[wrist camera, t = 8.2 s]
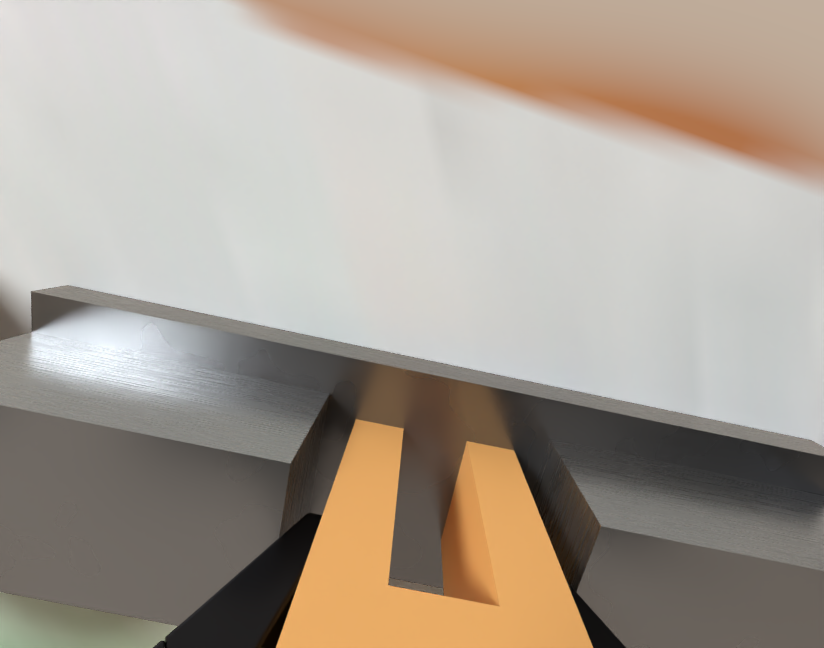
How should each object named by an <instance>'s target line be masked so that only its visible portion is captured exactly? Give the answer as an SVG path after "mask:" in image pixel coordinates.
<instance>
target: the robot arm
mask: <svg viewBox="0 0 824 648" xmlns="http://www.w3.org/2000/svg"><path fill="white" fill-rule="evenodd" d="M321 517H322V515H320V514H315V513H307V514H306V515H305V516H303V517H302V518H301V519H300V520H299V521H298V522H297V523H295V524H294V525H293V526H292V527H291V528H290V529H289V530H287V531H286V532H285V533H284V534H283V535H282V536H281V537H279V538H278V539H277V540H276V541H275V542H274V543H273V544H271V545H270V546H269V547H268V548H267V549H266V550H265V551H263V552H262V553H261V554H260V555H259V556H258V557H257V558H255V559H254V560H253V561H252V562H251V563H250V564H249V565H247V566H246V567H245V568H244V569H243V570H242V571H241V572H239V573H238V574H237V575H236V576H235V577H234V578H233V579H231V580H230V581H229V582H228V583H227V584H226V585H225V586H223V587H222V588H221V589H220V590H219V591H218V592H217V593H215V594H214V595H213V596H212V597H211V598H210V599H209V600H207V601H206V602H205V603H204V604H203V605H202V606H201V607H199V608H198V609H197V610H196V611H195V612H194V613H193V614H191V615H190V616H189V617H188V618H187V619H186V620H185V621H183V622H182V623H181V624H180V625H179V626H178V627H177V628H175V629H174V630H173V631H172V632H171V633H170V634H169V635H167V636H166V638H165V642H164V641H160V642H159V643H158V644H157V645H156V646H155V647H153V648H276V646H277V643H278V640H279V638H280V635H281V632H282V629H283V626H284V623H285V620H286V618H287V615H288V612H289V609H290V606H291V603H292V600H293V598H294V595H295V592H296V589H297V586H298V583H299V580H300V577H301V575H302V572H303V569H304V566H305V563H306V560H307V557H308V555H309V552H310V549H311V546H312V543H313V540H314V537H315V535H316V532H317V529H318V526H319V523H320V520H321ZM567 584H568V586H569V589H570V591H571V594H572V596H573V599H574V601H575V604H576V606H577V609H578V611H579V614H580V616H581V619H582V621H583V623H584V626H585V628H586V631H587V633H588V636H589V638H590V641H591V643H592V646H593V648H626V647H625V646H624V645H623V643H622V642H621V641H620V640H619V639H618V638H617V637H616V636H615V635H614V633H613V632H612V631H611V630H610V629H609V628H608V627H607V626H606V625H605V623H604V622H603V621H602V620H601V619H600V618H599V617H598V616H597V615H596V613H595V612H594V611H593V610H592V609H591V608H590V607H589V606H588V605H587V603H586V602H585V601H584V600H583V599H582V598H581V597H580V596H579V595H578V593H577V592H576V591H575V590H574V589H573V588H572V587H571V586H570V585H569V583H568V582H567Z"/></svg>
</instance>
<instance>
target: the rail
mask: <svg viewBox="0 0 824 648" xmlns="http://www.w3.org/2000/svg"><path fill="white" fill-rule="evenodd" d="M31 311H32V332H30V333H26V334H22V335H19V336H15V337H11V338H8V339H4V340H0V592H4V593H9V594H15V595H20V596H25V597H30V598H35V599H41V600H46V601H51V602H56V603H62V604H67V605H72V606H77V607H82V608H88V609H93V610H98V611H103V612H109V613H114V614H119V615H124V616H129V617H135V618H140V619H145V620H150V621H156V622H161V623H166V624H171V625H176V626H179V625H180V624H181V623H182V622H183V621H185V620H186V619H187V618H188V617H189V616H190V615H191V614H193V613H194V612H195V611H196V610H197V609H198V608H199V607H201V606H202V605H203V604H204V603H205V602H206V601H207V600H209V599H210V598H211V597H212V596H213V595H214V594H215V593H217V592H218V591H219V590H220V589H221V588H222V587H223V586H225V585H226V584H227V583H228V582H229V581H230V580H231V579H233V578H234V577H235V576H236V575H237V574H238V573H239V572H241V571H242V570H243V569H244V568H245V567H246V566H247V565H249V564H250V563H251V562H252V561H253V560H254V559H255V558H257V557H258V556H259V555H260V554H261V553H262V552H263V551H265V550H266V549H267V548H268V547H269V546H270V545H271V544H273V543H274V542H275V541H276V540H277V539H278V538H279V537H281V536H282V535H283V534H284V533H285V532H286V531H287V530H289V529H290V528H291V527H292V526H293V525H294V524H295V523H297V522H298V521H299V520H300V519H301V518H302V517H303V516H305V515H306V514H307V513H315V514H320V515H323V512H324V509H325V506H326V503H327V500H328V497H329V495H330V492H331V489H332V486H333V483H334V480H335V477H336V475H337V472H338V469H339V466H340V463H341V460H342V457H343V455H344V452H345V449H346V446H347V443H348V440H349V437H350V435H351V432H352V429H353V426H354V423H355V420H356V419H358V420H363V421H368V422H373V423H378V424H383V425H388V426H393V427H398V428H403V429H404V430H403V440H402V450H401V460H400V470H399V480H398V490H397V501H396V511H395V521H394V531H393V541H392V551H391V561H390V571H389V578H394V579H399V580H404V581H409V582H414V583H419V584H424V585H430V586H435V587H440V588H443V571H442V553H441V538H442V535H443V531H444V527H445V523H446V519H447V515H448V512H449V508H450V504H451V500H452V496H453V492H454V489H455V485H456V481H457V477H458V473H459V469H460V466H461V462H462V458H463V454H464V450H465V446H466V443H467V441H469V442H474V443H479V444H484V445H489V446H494V447H499V448H504V449H509V450H514V452H515V454H516V457H517V459H518V462H519V464H520V467H521V469H522V471H523V474H524V476H525V479H526V481H527V484H528V486H529V489H530V491H531V494H532V496H533V499H534V501H535V504H536V506H537V509H538V511H539V514H540V516H541V519H542V521H543V524H544V526H545V529H546V531H547V534H548V536H549V539H550V541H551V544H552V546H553V549H554V551H555V554H556V556H557V559H558V561H559V564H560V566H561V569H562V571H563V574H564V576H565V579H566V581H567V582H568V583H569V585H570V586H571V587H572V588H573V589H574V590H575V591H576V592H577V593H578V595H579V596H580V597H581V598H582V599H583V600H584V601H585V602H586V603H587V605H588V606H589V607H590V608H591V609H592V610H593V611H594V612H595V613H596V615H597V616H598V617H599V618H600V619H601V620H602V621H603V622H604V623H605V625H606V626H607V627H608V628H609V629H610V630H611V631H612V632H613V633H614V635H615V636H616V637H617V638H618V639H619V640H620V641H621V642H622V643H623V645H624V646H625V647H626V648H824V447H823V446H821V445H819V444H817V443H815V442H813V441H812V440H807V439H802V438H797V437H793V436H788V435H783V434H778V433H773V432H769V431H764V430H759V429H754V428H749V427H745V426H740V425H735V424H730V423H725V422H721V421H716V420H711V419H706V418H701V417H697V416H692V415H687V414H682V413H678V412H673V411H668V410H663V409H658V408H654V407H649V406H644V405H639V404H634V403H630V402H625V401H620V400H615V399H610V398H606V397H601V396H596V395H591V394H586V393H582V392H577V391H572V390H567V389H563V388H558V387H553V386H548V385H543V384H539V383H534V382H529V381H524V380H519V379H515V378H510V377H505V376H500V375H495V374H491V373H486V372H481V371H476V370H471V369H467V368H462V367H457V366H452V365H448V364H443V363H438V362H433V361H428V360H424V359H419V358H414V357H409V356H404V355H400V354H395V353H390V352H385V351H380V350H376V349H371V348H366V347H361V346H356V345H352V344H347V343H342V342H337V341H332V340H328V339H323V338H318V337H313V336H309V335H304V334H299V333H294V332H289V331H285V330H280V329H275V328H270V327H265V326H261V325H256V324H251V323H246V322H241V321H237V320H232V319H227V318H222V317H217V316H213V315H208V314H203V313H198V312H194V311H189V310H184V309H179V308H174V307H170V306H165V305H160V304H155V303H150V302H146V301H141V300H136V299H131V298H126V297H122V296H117V295H112V294H107V293H102V292H98V291H93V290H88V289H83V288H79V287H74V286H69V285H66V286H60V287H54V288H48V289H42V290H36V291H31Z"/></svg>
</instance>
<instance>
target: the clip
mask: <svg viewBox="0 0 824 648" xmlns="http://www.w3.org/2000/svg"><path fill="white" fill-rule="evenodd" d="M403 430H404V429H403V428H398V427H393V426H388V425H383V424H378V423H373V422H368V421H363V420H358V419H356V420H355V423H354V426H353V429H352V432H351V435H350V437H349V440H348V443H347V446H346V449H345V452H344V455H343V457H342V460H341V463H340V466H339V469H338V472H337V475H336V477H335V480H334V483H333V486H332V489H331V492H330V495H329V497H328V500H327V503H326V506H325V509H324V512H323V515H322V517H321V520H320V523H319V526H318V529H317V532H316V535H315V537H314V540H313V543H312V546H311V549H310V552H309V555H308V557H307V560H306V563H305V566H304V569H303V572H302V575H301V577H300V580H299V583H298V586H297V589H296V592H295V595H294V598H293V600H292V603H291V606H290V609H289V612H288V615H287V618H286V620H285V623H284V626H283V629H282V632H281V635H280V638H279V640H278V643H277V646H276V648H593V646H592V643H591V641H590V638H589V636H588V633H587V631H586V628H585V626H584V623H583V621H582V619H581V616H580V614H579V611H578V609H577V606H576V604H575V601H574V599H573V596H572V594H571V591H570V589H569V586H568V584H567V581H566V579H565V576H564V574H563V571H562V569H561V566H560V564H559V561H558V559H557V556H556V554H555V551H554V549H553V546H552V544H551V541H550V539H549V536H548V534H547V531H546V529H545V526H544V524H543V521H542V519H541V516H540V514H539V511H538V509H537V506H536V504H535V501H534V499H533V496H532V494H531V491H530V489H529V486H528V484H527V481H526V479H525V476H524V474H523V471H522V469H521V467H520V464H519V462H518V459H517V457H516V454H515V452H514V450H509V449H504V448H499V447H494V446H489V445H484V444H479V443H474V442H469V441H467V443H466V446H465V450H464V454H463V458H462V462H461V466H460V469H459V473H458V477H457V481H456V485H455V489H454V492H453V496H452V500H451V504H450V508H449V512H448V515H447V519H446V523H445V527H444V531H443V535H442V538H441V553H442V571H443V590H444V596H442V595H436V594H431V593H426V592H420V591H415V590H410V589H405V588H399V587H394V586H389V585H388V581H389V571H390V561H391V551H392V541H393V531H394V521H395V511H396V501H397V490H398V480H399V470H400V460H401V450H402V440H403Z"/></svg>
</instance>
